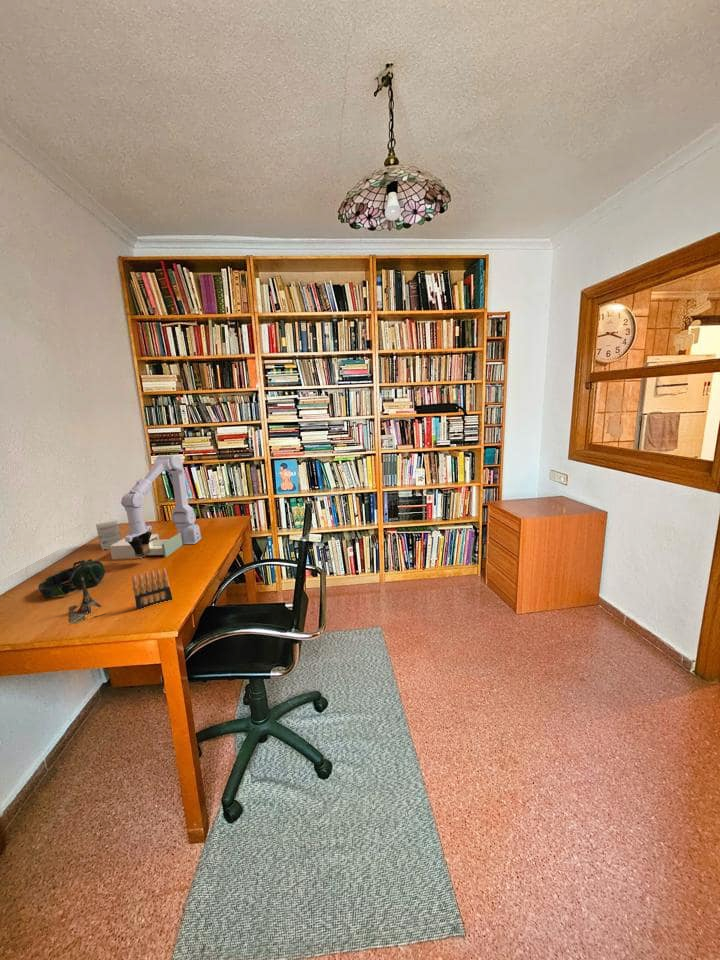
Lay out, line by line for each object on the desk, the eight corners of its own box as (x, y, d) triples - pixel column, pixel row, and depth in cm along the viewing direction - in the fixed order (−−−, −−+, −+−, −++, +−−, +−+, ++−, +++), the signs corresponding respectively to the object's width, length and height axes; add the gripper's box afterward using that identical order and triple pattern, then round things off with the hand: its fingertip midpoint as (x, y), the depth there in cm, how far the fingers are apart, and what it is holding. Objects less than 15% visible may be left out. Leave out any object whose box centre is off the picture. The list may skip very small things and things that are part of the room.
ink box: (120, 541, 189) (116, 519, 186) (122, 545, 182) (118, 523, 180) (100, 546, 183) (95, 523, 181) (102, 550, 177) (97, 527, 174)
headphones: (100, 558, 152) (40, 582, 140) (94, 544, 142) (28, 568, 130) (112, 586, 147) (50, 612, 136) (106, 573, 137) (38, 601, 126)
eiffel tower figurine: (69, 608, 126) (60, 572, 123) (104, 597, 132) (97, 563, 129) (68, 627, 114) (59, 588, 111) (107, 615, 120) (99, 577, 117)
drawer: (182, 545, 177) (180, 533, 176) (166, 557, 164) (163, 544, 162) (154, 546, 178) (152, 534, 177) (136, 558, 165) (133, 545, 163)
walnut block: (150, 552, 159) (148, 544, 158) (144, 556, 155) (142, 547, 155) (141, 553, 160) (139, 544, 159) (135, 556, 156) (133, 548, 155)
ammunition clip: (172, 597, 128) (166, 565, 126) (172, 600, 126) (167, 567, 124) (136, 607, 123) (130, 574, 120) (136, 610, 121) (130, 576, 119)
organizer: (160, 546, 178) (158, 533, 177) (142, 558, 164) (139, 545, 163) (132, 547, 179) (130, 534, 178) (112, 559, 165) (109, 546, 164)
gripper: (138, 516, 162) (144, 545, 165) (115, 527, 148) (121, 559, 150) (153, 515, 161) (159, 544, 164) (132, 526, 147) (138, 558, 150)
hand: (142, 551), depth 157 cm, fingers closed on walnut block, 4 cm apart
